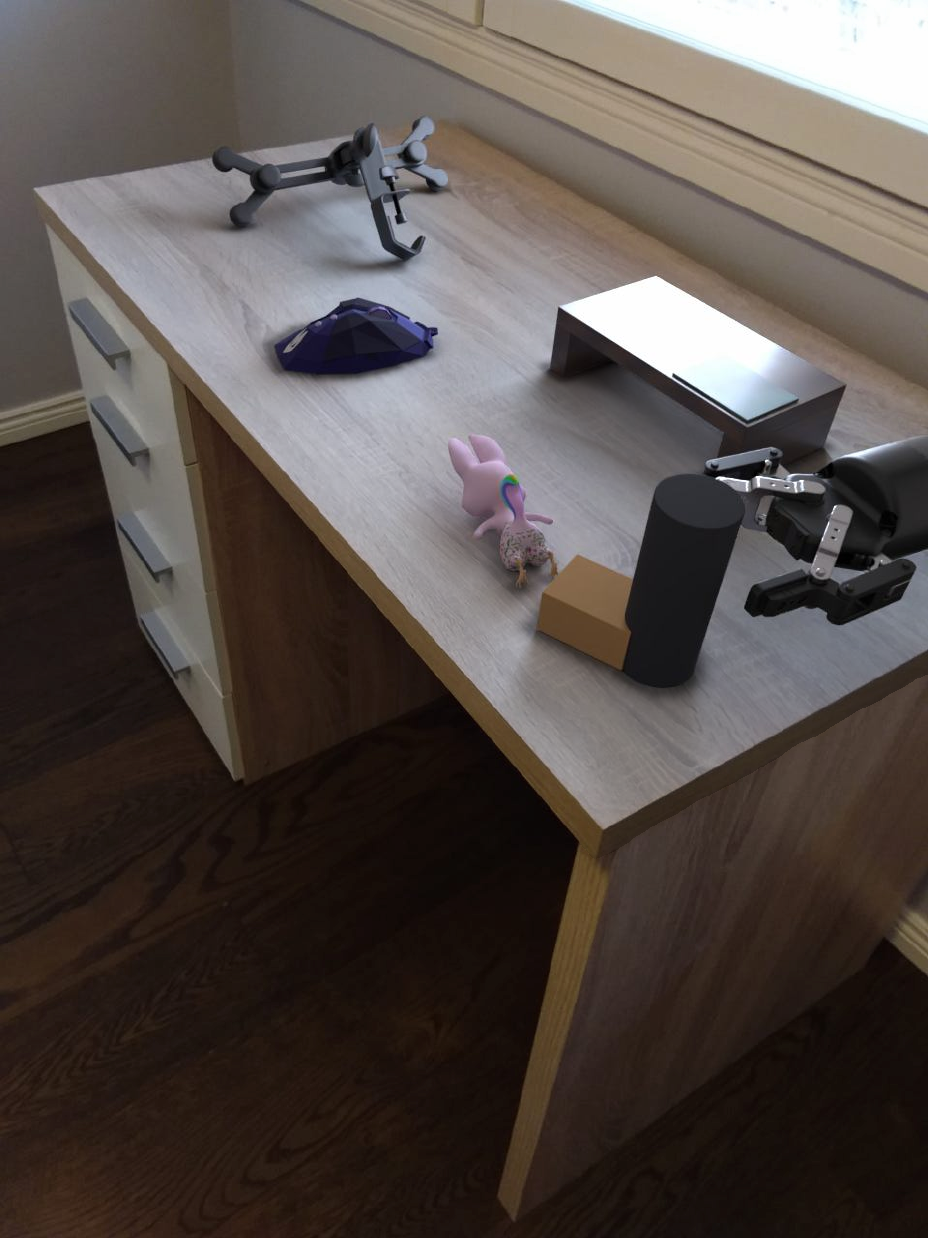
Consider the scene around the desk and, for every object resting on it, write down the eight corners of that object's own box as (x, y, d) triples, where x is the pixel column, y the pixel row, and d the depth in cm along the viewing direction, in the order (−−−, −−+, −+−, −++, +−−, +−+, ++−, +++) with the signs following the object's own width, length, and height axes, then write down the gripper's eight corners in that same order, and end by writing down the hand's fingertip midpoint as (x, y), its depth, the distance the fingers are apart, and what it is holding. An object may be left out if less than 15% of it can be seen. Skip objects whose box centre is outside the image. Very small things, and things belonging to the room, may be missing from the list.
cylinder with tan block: (707, 652, 68) (759, 495, 59) (674, 700, 64) (724, 541, 55) (571, 589, 71) (600, 431, 62) (534, 631, 68) (559, 471, 59)
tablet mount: (464, 261, 123) (426, 117, 119) (526, 230, 110) (486, 68, 107) (257, 308, 111) (208, 151, 108) (301, 279, 99) (247, 100, 95)
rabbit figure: (573, 587, 73) (495, 446, 81) (591, 532, 69) (506, 387, 77) (493, 606, 71) (421, 459, 79) (506, 550, 67) (428, 400, 75)
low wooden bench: (824, 446, 86) (848, 382, 82) (728, 491, 81) (748, 425, 76) (643, 334, 98) (656, 273, 94) (549, 367, 93) (558, 304, 89)
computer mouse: (267, 329, 95) (264, 288, 92) (421, 314, 98) (423, 275, 96) (286, 381, 88) (283, 339, 86) (449, 363, 92) (452, 323, 89)
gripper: (848, 394, 70) (653, 443, 64) (1011, 514, 61) (801, 584, 55) (815, 483, 75) (631, 536, 69) (960, 606, 66) (764, 679, 60)
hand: (707, 557), depth 62 cm, fingers open, 8 cm apart
